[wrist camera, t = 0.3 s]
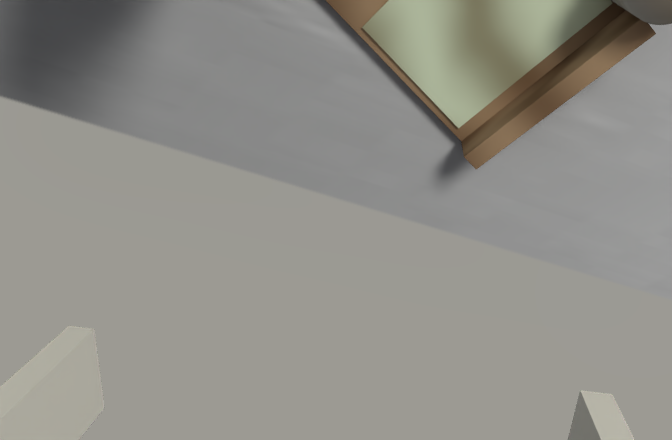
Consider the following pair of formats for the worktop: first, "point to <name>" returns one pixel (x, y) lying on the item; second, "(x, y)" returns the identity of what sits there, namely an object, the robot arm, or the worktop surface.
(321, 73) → the worktop surface
